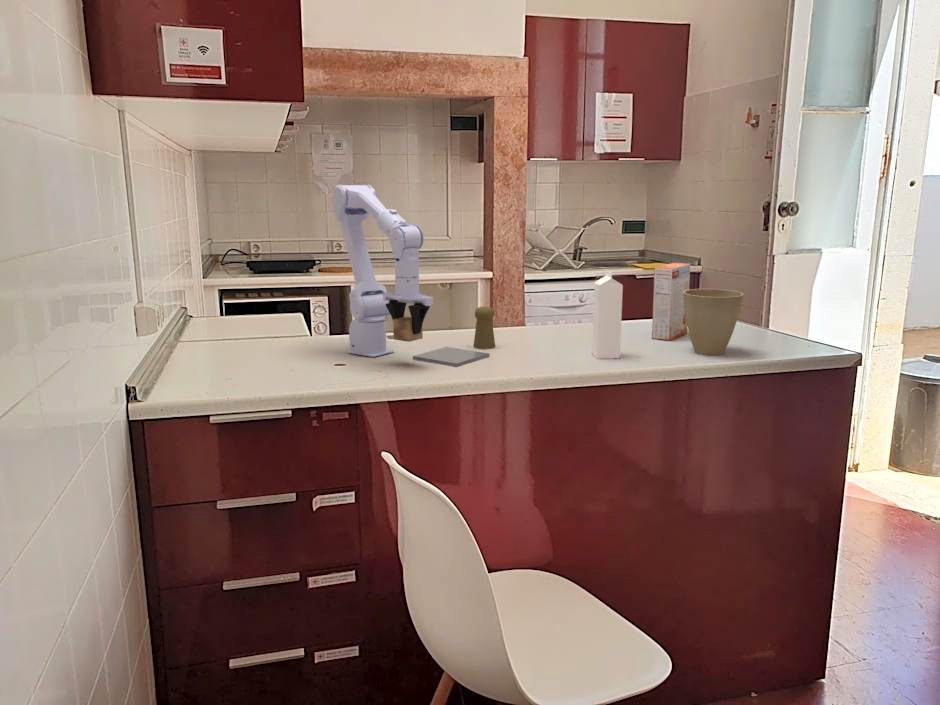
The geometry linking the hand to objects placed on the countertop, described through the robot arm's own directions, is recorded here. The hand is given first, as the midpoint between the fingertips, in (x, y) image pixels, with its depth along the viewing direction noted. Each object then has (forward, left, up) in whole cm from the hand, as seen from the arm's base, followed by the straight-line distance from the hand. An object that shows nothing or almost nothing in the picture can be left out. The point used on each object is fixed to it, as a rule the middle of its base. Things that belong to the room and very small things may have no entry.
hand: (408, 332), depth 184 cm
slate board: (+4, +12, -8) cm, 15 cm away
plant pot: (+55, +57, -8) cm, 80 cm away
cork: (+3, +28, -8) cm, 29 cm away
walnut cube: (0, 0, -2) cm, 2 cm away
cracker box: (+38, +72, -8) cm, 82 cm away
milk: (+35, +37, -8) cm, 52 cm away
